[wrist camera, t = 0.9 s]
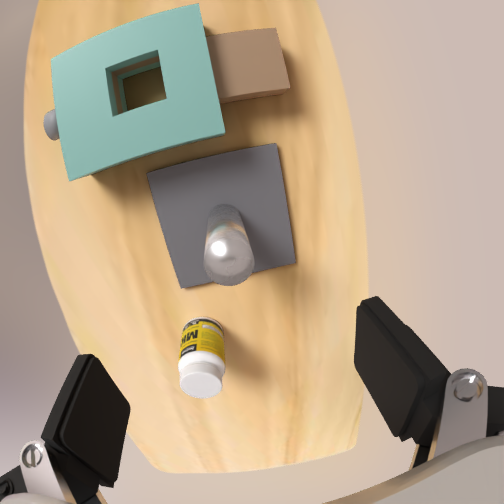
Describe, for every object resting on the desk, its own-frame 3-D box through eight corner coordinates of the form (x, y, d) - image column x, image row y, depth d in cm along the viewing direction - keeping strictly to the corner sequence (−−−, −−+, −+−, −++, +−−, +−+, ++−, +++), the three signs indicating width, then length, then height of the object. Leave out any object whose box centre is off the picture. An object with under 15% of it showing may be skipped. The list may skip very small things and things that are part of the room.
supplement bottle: (195, 308, 29) (190, 361, 22) (231, 326, 31) (237, 380, 23) (175, 336, 31) (167, 390, 23) (209, 352, 32) (210, 406, 24)
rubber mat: (274, 143, 24) (276, 143, 23) (294, 260, 29) (295, 262, 28) (148, 172, 24) (146, 173, 23) (181, 285, 28) (181, 288, 28)
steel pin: (225, 197, 25) (230, 228, 16) (247, 220, 26) (264, 263, 17) (201, 218, 25) (193, 262, 16) (223, 241, 26) (227, 294, 17)
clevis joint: (263, 15, 19) (271, -6, 15) (288, 124, 23) (302, 120, 19) (57, 76, 18) (34, 69, 14) (75, 181, 23) (52, 188, 18)
